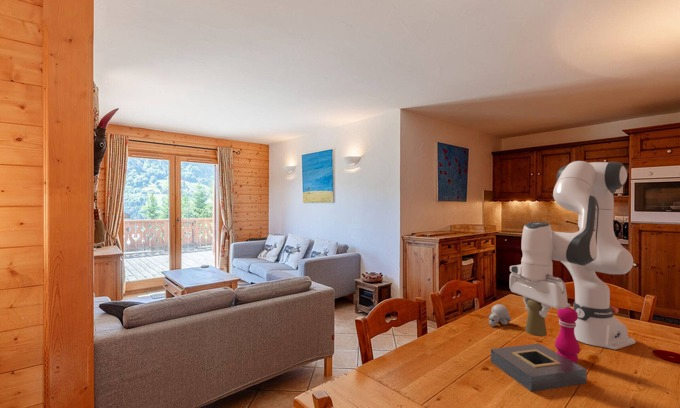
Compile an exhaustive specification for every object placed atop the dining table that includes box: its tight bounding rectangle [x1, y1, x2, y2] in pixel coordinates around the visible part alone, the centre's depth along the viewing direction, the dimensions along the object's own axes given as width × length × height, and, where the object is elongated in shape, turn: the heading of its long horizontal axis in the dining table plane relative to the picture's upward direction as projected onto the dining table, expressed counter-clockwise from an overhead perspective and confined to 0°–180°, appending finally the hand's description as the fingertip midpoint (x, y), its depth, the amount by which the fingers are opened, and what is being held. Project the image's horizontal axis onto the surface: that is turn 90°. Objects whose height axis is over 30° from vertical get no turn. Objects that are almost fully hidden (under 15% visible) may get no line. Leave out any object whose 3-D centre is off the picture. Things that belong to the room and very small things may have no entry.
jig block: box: [490, 343, 588, 393], centre depth 106 cm, size 20×18×5 cm
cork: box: [524, 299, 548, 337], centre depth 106 cm, size 6×6×11 cm
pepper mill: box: [554, 303, 581, 364], centre depth 114 cm, size 7×7×20 cm
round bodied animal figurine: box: [487, 303, 512, 327], centre depth 146 cm, size 7×12×8 cm, turn 118°
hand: (535, 313), depth 106 cm, fingers closed on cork, 4 cm apart
